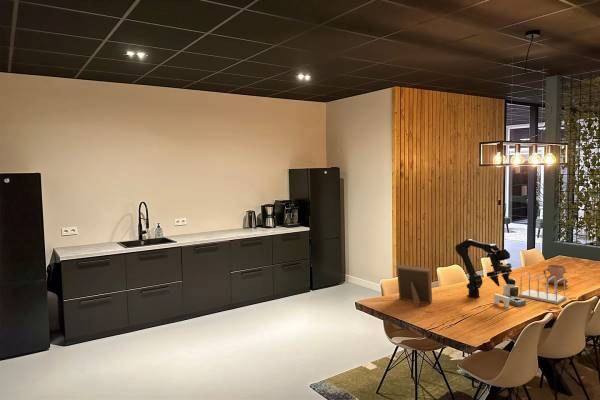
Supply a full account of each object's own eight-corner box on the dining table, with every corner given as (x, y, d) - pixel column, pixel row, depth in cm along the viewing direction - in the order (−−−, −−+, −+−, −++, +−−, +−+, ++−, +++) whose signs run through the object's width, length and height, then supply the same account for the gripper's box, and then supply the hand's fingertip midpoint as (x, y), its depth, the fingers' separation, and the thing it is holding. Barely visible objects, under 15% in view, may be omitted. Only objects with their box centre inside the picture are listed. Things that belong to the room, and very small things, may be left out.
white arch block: (493, 303, 301) (493, 294, 300) (496, 302, 302) (496, 293, 302) (506, 307, 292) (507, 298, 292) (509, 307, 293) (509, 297, 293)
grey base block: (498, 300, 307) (498, 296, 307) (505, 298, 311) (505, 294, 311) (518, 306, 294) (518, 302, 294) (525, 304, 298) (526, 300, 298)
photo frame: (401, 297, 316) (401, 263, 314) (432, 302, 305) (432, 266, 303) (394, 303, 304) (394, 267, 301) (426, 308, 293) (426, 271, 290)
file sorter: (566, 299, 309) (567, 277, 308) (557, 304, 298) (558, 281, 296) (528, 291, 328) (529, 270, 326) (518, 296, 316) (519, 275, 315)
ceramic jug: (571, 284, 345) (572, 266, 344) (564, 287, 335) (565, 269, 334) (547, 280, 358) (547, 262, 357) (539, 283, 349) (540, 265, 348)
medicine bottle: (509, 297, 314) (510, 280, 313) (502, 294, 321) (503, 278, 320) (518, 296, 316) (518, 279, 315) (511, 293, 323) (511, 277, 322)
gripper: (496, 261, 288) (504, 285, 284) (514, 258, 297) (522, 281, 293) (483, 264, 297) (490, 288, 293) (501, 261, 306) (508, 284, 302)
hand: (503, 285), depth 295 cm, fingers open, 9 cm apart
